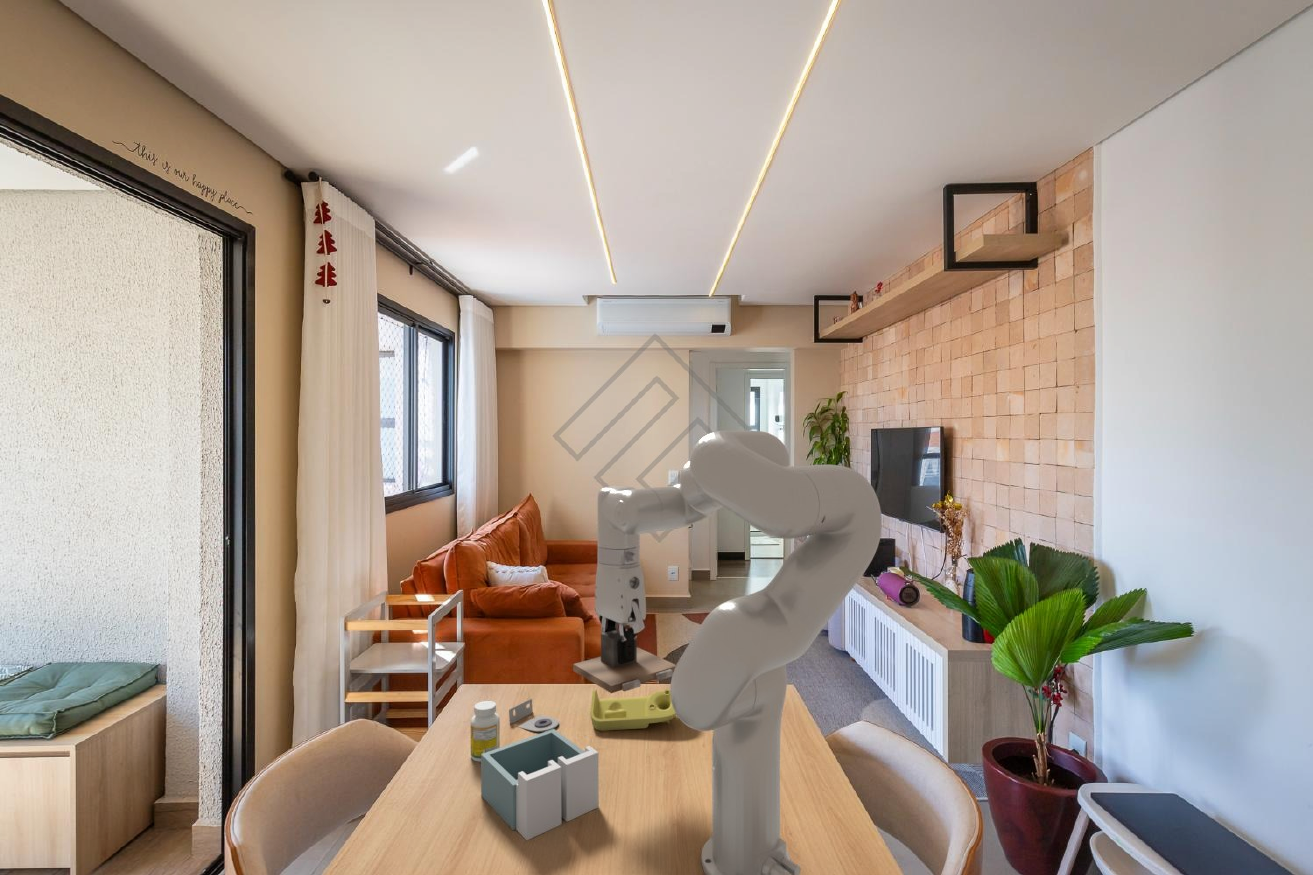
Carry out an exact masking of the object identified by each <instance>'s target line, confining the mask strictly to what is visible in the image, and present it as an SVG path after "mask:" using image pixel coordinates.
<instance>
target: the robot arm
mask: <svg viewBox="0 0 1313 875" xmlns="http://www.w3.org/2000/svg"><path fill="white" fill-rule="evenodd" d="M689 457H690V458H689V461H687V462H686V463H685V464H684V465H683V467H682V468H681V470H680V472H679V473H680V474H679V484H675V485H671V486H657V487H645V488H636V487H634V486H627V485H625V486H623V485H621V486H620V485H617V486H616V485H615V486H613V485H612V486H605V487H602V488H601V489H600V490H599V491H598V493H597V567H596V573H595V574H596V575H595V586H594V587H595V589H594V604H595V605H594V606H595V607H594V612H595V614H596V615H597V618H598V620H599V622H600V625H601V628H600V630H601V633H605V632H609V631H614V630H618V629H619V631H620V641H618V663H619V664H624V663H628V662H631V661H634V659H635V639H636V638H638V634H639V633H640V632H642V631H643V630H645V628H646V626H645V623H644V621H645V620H646V617H647V600H646V598H647V596H646V587H645V578H644V571H643V567H642V565H641V564H640V562H641V560H640V557H641V556H640V553H641V552H640V551H641V549H640V542H641V541H640V535H644V534H651V533H657V532H665V531H671V530H672V531H673V530H674V531H675V530H678V529H682V528H685V527H689V526H690V525H694V524H696V523H698V522H702V521H703V520H706V519H708V518H710V517H712V516H713V515H714V514H715V512H716V511H717V510H720V509H723V508H724V509H726V510H727V511H729V512H730V513H732V514H733V515H735V516H736V517H738V518H739V519H741V520H742V521H744V522H745V523H746V524H748V525H750V526H751V527H752V528H755V529H756V530H757V531H759V532H761V533H763V534H765V535H767V536H770V537H773V538H776V539H785V540H787V539H788V540H791V539H799V538H802V537H803V538H804V537H806V539H804V541H803V542H802V543H800V544H799V545H798V546H797V547H796V548H795V549H794V550H793V551H792V552H791V553H790V554H789V555H788V556H787V558H786V559H785V560H784V561H783V563H782V565H781V567H780V569H779V570H778V572H776V574H775V575H774V577H773V578H772V580H771V581H770V582H769V583H768V584H767V585H766V586H765V587H764V588H762V589H761V590H757V591H756V592H753V593H751V594H747V595H743V596H740V597H736V598H731V599H729V600H727V601H724V602H723V603H720V604H719V605H718V606H716V607H715V608H714V609H712V611H710V613H709V614H708V615H707V616H706V617H705V618H704V620H703V621H702V623H701V624H700V626H699V627H698V629H697V631H696V633H695V634H694V636H693V637H692V639H691V640H690V641H689V643H688V644H687V646H686V649H685V650H684V651H683V653H682V654H681V657H680V658H679V659H678V662H676V664H675V665H676V667H675V669H674V672H673V675H672V677H671V680H670V689H669V690H670V693H671V701H672V705H673V708H674V710H675V713H676V714H677V715H676V717H678V719H679V720H680V721H681V722H682V723H683V724H684V725H686V726H687V727H688V728H690V729H693V730H695V731H698V732H699V731H701V732H709V731H713V732H712V743H711V744H712V745H711V746H712V747H711V748H712V749H711V750H712V751H711V754H712V756H711V765H712V768H711V769H712V771H711V772H712V773H711V774H712V776H711V777H712V778H711V782H712V783H711V784H712V788H711V789H712V792H711V793H712V794H711V795H712V796H711V797H712V809H711V810H712V813H711V814H712V815H711V816H712V818H711V819H712V820H711V823H712V824H711V825H712V827H711V828H712V832H711V833H712V835H711V837H709V838H708V840H707V841H705V842H704V843H705V844H704V845H702V846H703V847H702V849H701V850H702V851H701V867H702V870H703V873H704V874H705V875H800V874H801V870H802V867H801V866H800V865H798V864H797V863H795V862H794V861H792V858H791V855H790V852H788V850H787V841H785V840H784V839H782V838H781V731H782V730H781V729H782V718H783V711H784V707H785V706H784V705H785V701H786V694H787V686H788V685H787V684H788V677H787V675H788V674H787V669H786V665H788V664H790V663H792V662H793V661H796V660H798V659H799V658H801V657H802V656H803V655H804V654H805V653H806V652H807V650H808V649H809V648H810V646H811V645H812V644H813V642H814V641H815V639H816V638H817V637H818V635H820V633H821V632H822V630H823V629H824V627H825V626H826V625H827V623H828V622H829V621H830V620H831V618H832V616H833V615H835V613H836V612H837V610H838V608H839V607H840V605H841V604H842V603H843V601H844V600H845V599H846V597H847V596H848V595H849V594H850V592H851V590H853V588H854V587H855V586H856V584H857V583H858V582H859V581H860V579H861V578H862V576H864V573H865V572H866V570H867V569H868V568H869V566H870V564H871V562H872V561H873V558H874V557H875V554H876V552H877V550H878V547H879V544H880V540H881V536H882V528H883V525H882V524H883V523H882V522H883V521H882V519H883V518H882V510H881V505H880V502H879V501H880V500H879V498H878V496H877V493H876V492H875V489H874V488H873V486H872V485H871V483H870V482H869V480H868V479H867V478H866V477H865V476H864V475H862V474H861V473H860V472H858V471H857V470H855V469H852V468H850V467H847V466H843V465H836V464H812V465H811V464H810V465H798V466H797V465H795V466H792V465H791V466H790V455H789V450H788V448H787V447H786V445H785V444H784V443H783V442H782V440H780V439H779V438H778V437H777V436H775V435H774V434H771V433H769V432H767V431H766V432H765V431H763V430H762V431H761V430H717V431H713V432H709V433H708V434H706V435H705V436H703V437H702V438H700V439H699V440H698V442H697V443H696V444H695V445H694V446H693V449H692V450H691V454H690V456H689ZM628 626H629V628H626V627H628ZM626 629H627V631H626Z"/></svg>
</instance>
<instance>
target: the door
mask: <svg viewBox="0 0 1313 875" xmlns="http://www.w3.org/2000/svg"><path fill="white" fill-rule="evenodd" d="M625 629H626V631H627V630H628V628H625ZM637 638H638V637H637ZM637 638H636V639H635V659H634V661H631V662H628V663H624V664H619V663H618V641H620V631H619V628H617V630H614V631H609V632H605V633H602V632H601V633H600V656H597V657H594V658H591V659H587V660H583V661H580V662H576V663H573V664H572V668H573V669H572V670H573V672H575V673H576V674H578V675H580V676H582V677H583V678H585V679H586V680H587V681H590V682H591V683H594V685H597V686H598V687H600V688H602V689H603V690H605V691H606V692H608V693H610V694H613V693H614V694H615V693H617V692H619V691H622V692H627V691H630V690H634V689H637V688H640V687H641V685H642V684H645V683H649V682H652V681H655V680H656V681H657V682H659V681H662V680H665V679H668V678H672V675H673V672H674V669H675V667H676V665H677V664H675V663H673V662H671V661H669V660H666V659H664V658H662V657H660V656H657V655H655V654H653V653H651V652H650V651H646V650H644V649H643V648H640V647H639V646H638V645H637V644H638V643H637V640H638V639H637Z"/></svg>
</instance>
